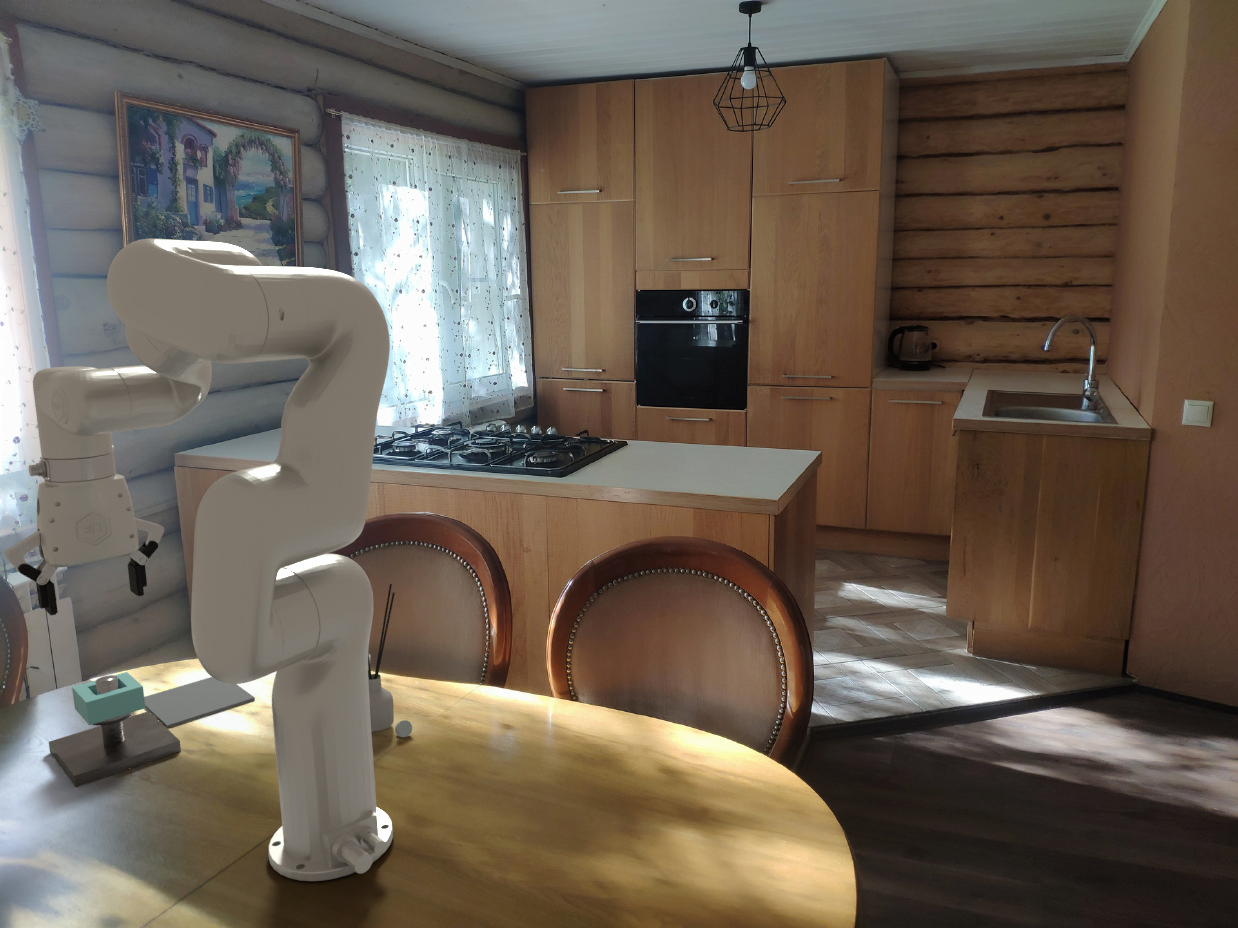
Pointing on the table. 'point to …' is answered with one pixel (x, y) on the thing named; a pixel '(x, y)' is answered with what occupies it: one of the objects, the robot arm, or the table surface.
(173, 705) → the slate mat
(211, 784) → the table surface
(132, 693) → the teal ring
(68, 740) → the ring stand
